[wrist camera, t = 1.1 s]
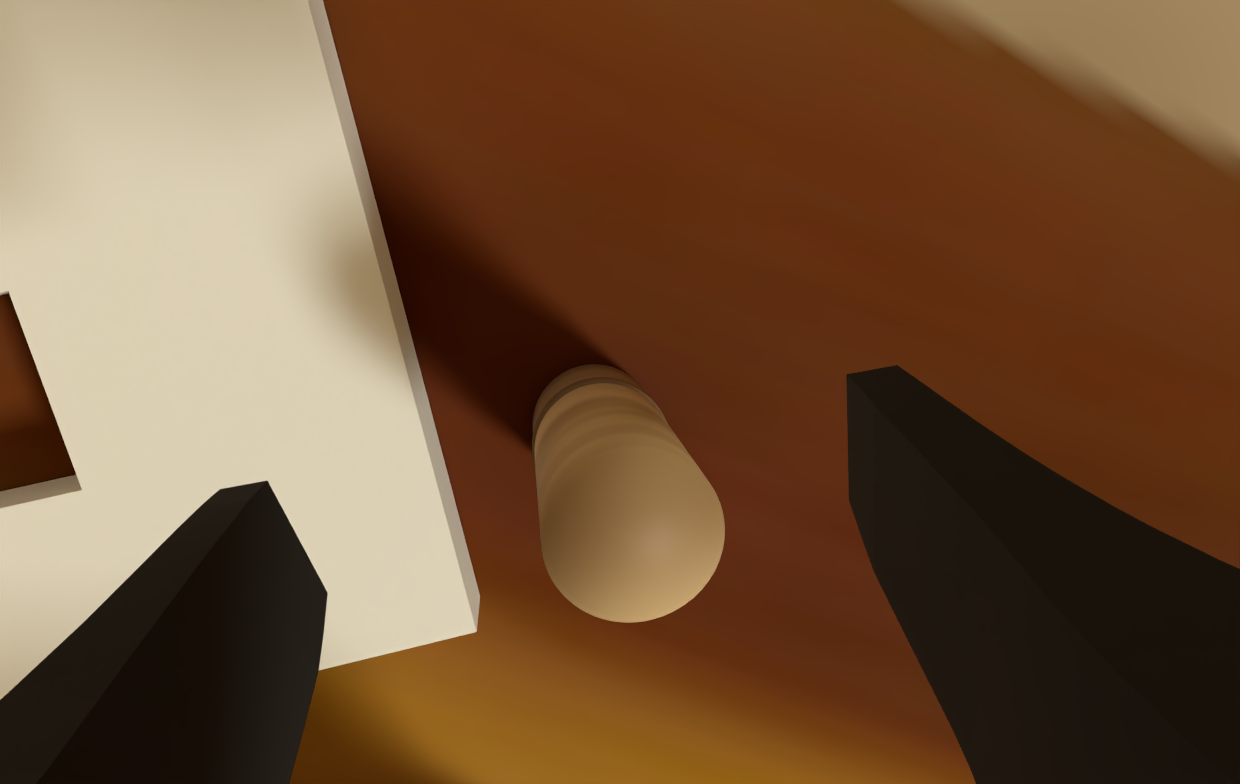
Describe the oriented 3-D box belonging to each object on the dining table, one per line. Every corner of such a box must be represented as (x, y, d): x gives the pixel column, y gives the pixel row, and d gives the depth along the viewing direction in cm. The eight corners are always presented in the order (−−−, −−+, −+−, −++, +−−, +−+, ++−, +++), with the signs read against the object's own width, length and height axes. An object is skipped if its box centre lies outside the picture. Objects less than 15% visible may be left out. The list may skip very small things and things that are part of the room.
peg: (665, 467, 23) (741, 599, 15) (545, 495, 23) (561, 644, 15) (641, 349, 22) (709, 425, 14) (517, 377, 22) (518, 469, 14)
